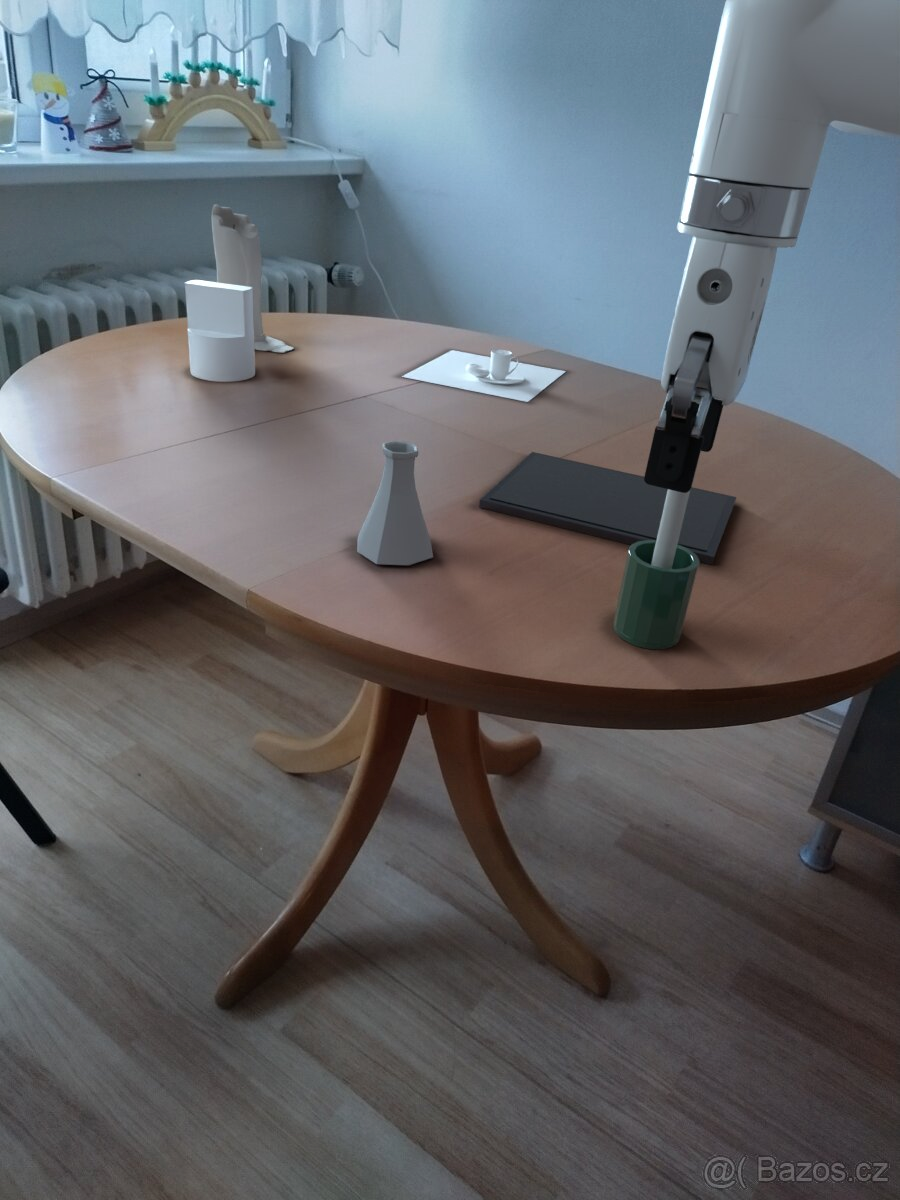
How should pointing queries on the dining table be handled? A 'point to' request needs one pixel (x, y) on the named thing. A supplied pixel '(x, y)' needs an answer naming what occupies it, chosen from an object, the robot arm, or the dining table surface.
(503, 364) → the teacup and saucer
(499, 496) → the tablet
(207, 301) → the base with upright slab
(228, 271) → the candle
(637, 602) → the pen holder
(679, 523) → the stylus
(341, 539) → the dining table surface
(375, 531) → the flask
